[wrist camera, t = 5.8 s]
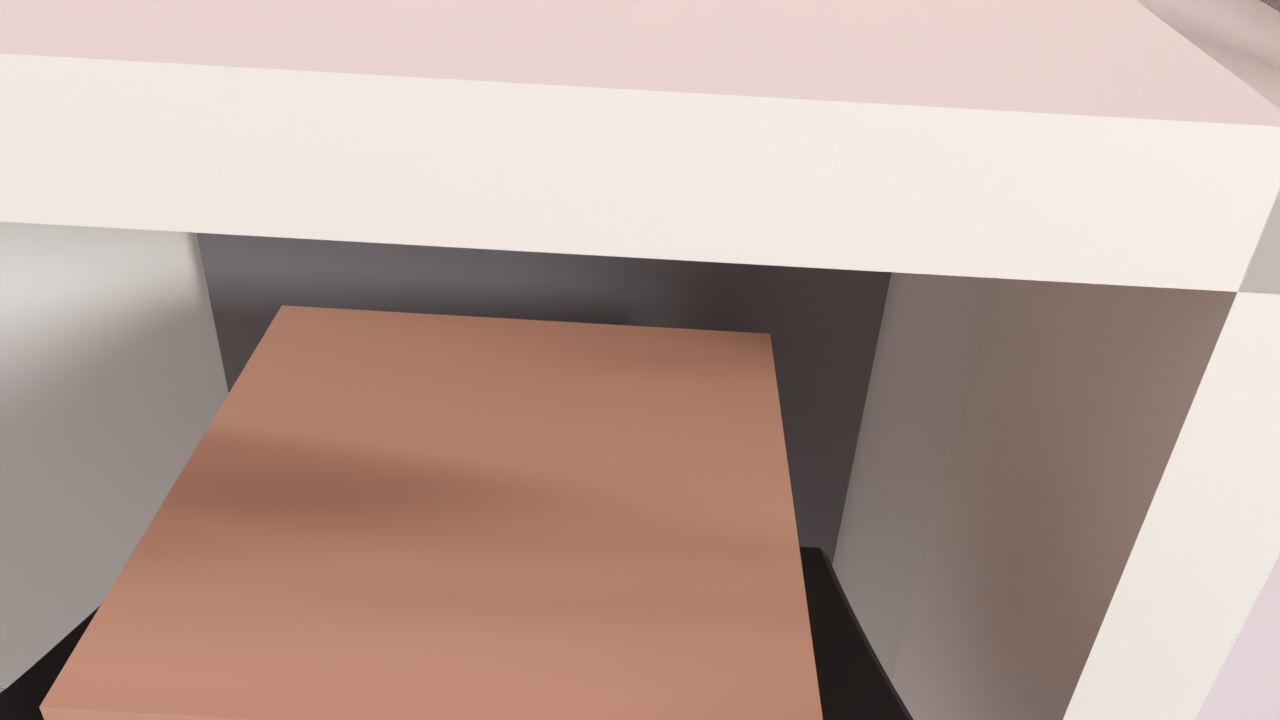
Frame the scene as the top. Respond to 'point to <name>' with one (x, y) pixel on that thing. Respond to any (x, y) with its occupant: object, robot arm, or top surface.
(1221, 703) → the top surface
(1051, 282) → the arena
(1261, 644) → the top surface
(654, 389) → the cube
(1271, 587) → the top surface
